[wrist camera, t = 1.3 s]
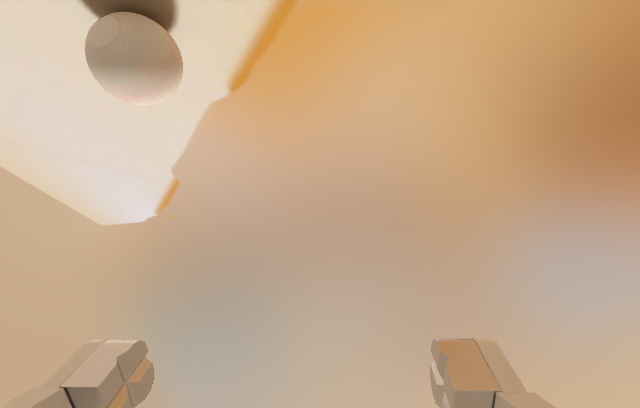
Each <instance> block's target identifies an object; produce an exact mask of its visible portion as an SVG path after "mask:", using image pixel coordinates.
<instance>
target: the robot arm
mask: <svg viewBox="0 0 640 408" xmlns="http://www.w3.org/2000/svg"><path fill="white" fill-rule="evenodd" d="M431 352H432V355H433V358H434V361H433V362H432V363H431V364H430V378H431V386H432V391H433V395H434V399H435V403H436V404H437V405H438V406H439V407H440V408H555V407H554V406H553V405H551V404H550V403H548V402H547V401H545V400H544V399H543V398H541V397H540V396H538V395H537V394H536V393H528V392H527V391H526V389H525V387H524V386H523V384H522V382H521V381H520V379H519V378H518V376H517V374H516V373H515V371H514V370H513V368H512V366H511V365H510V363H509V362H508V360H507V358H506V357H505V355H504V353H503V352H502V350H501V349H500V347H499V345H498V344H497V342H496V341H495V340H494V339H493V338H472V339H433V341H432V348H431ZM147 353H148V349H147V346H146V344H145V342H143V341H140V340H91V341H88V342H86V343H85V344H84V345H83V346H82V347H81V348H80V349H79V350H78V351H76V353H74V354H73V355H72V357H70V358H69V359H68V360H67V361H66V362H65V363H64V364H63V365H62V366H61V367H60V368H59V369H58V370H57V371H56V372H55V373H54V374H53V375H52V376H51V377H50V378H49V379H48V380H47V381H46V382H45V383H44V384H42V385H41V386H40V387H39V388H32V389H31V390H29V391H27V392H25V393H23V394H22V395H20V396H18V397H16V398H14V399H12V400H11V401H9V402H7V403H5V404H3V405H1V406H0V408H134V407H135V406H137V405H138V404H139V403H141V402H142V401H143V400H145V398H146V397H147V395H148V393H149V391H150V390H151V387H152V384H153V380H154V368H153V364H152V363H151V362H150V361H149V360H148V359H147V358H146V357H145V356H146V354H147Z"/></svg>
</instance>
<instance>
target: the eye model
mask: <svg viewBox="0 0 640 408" xmlns="http://www.w3.org/2000/svg"><path fill="white" fill-rule="evenodd" d="M85 55H86V60H87V63H88V66H89V68H90V70H91V72H92V74H93V76H94V77H95V79H96V80H97V81H98V82H99V84H100V85H101V86H102V87H103V88H104V89H105V90H107V91H108V92H109V93H111V94H112V95H114V96H115V97H117V98H119V99H121V100H123V101H126V102H129V103H133V104H139V105H150V104H155V103H159V102H161V101H163V100H165V99H167V98H168V97H170V96H171V95H172V94H173V93H174V92H175V91H176V89H177V88H178V86H179V84H180V82H181V79H182V74H183V62H182V57H181V53H180V51H179V48H178V46H177V44H176V43H175V41H174V39H173V38H172V37H171V35H170V34H169V33H168V32H167V31H166V30H165V29H164V28H163V27H162V26H161V25H159V24H158V23H157V22H155V21H153V20H152V19H150V18H148V17H146V16H143V15H140V14H137V13H132V12H116V13H111V14H108V15H106V16H104V17H102V18H100V19H99V20H98V21H96V22H95V23H94V24H93V26H92V27H91V29H90V30H89V32H88V35H87V38H86V42H85Z"/></svg>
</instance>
